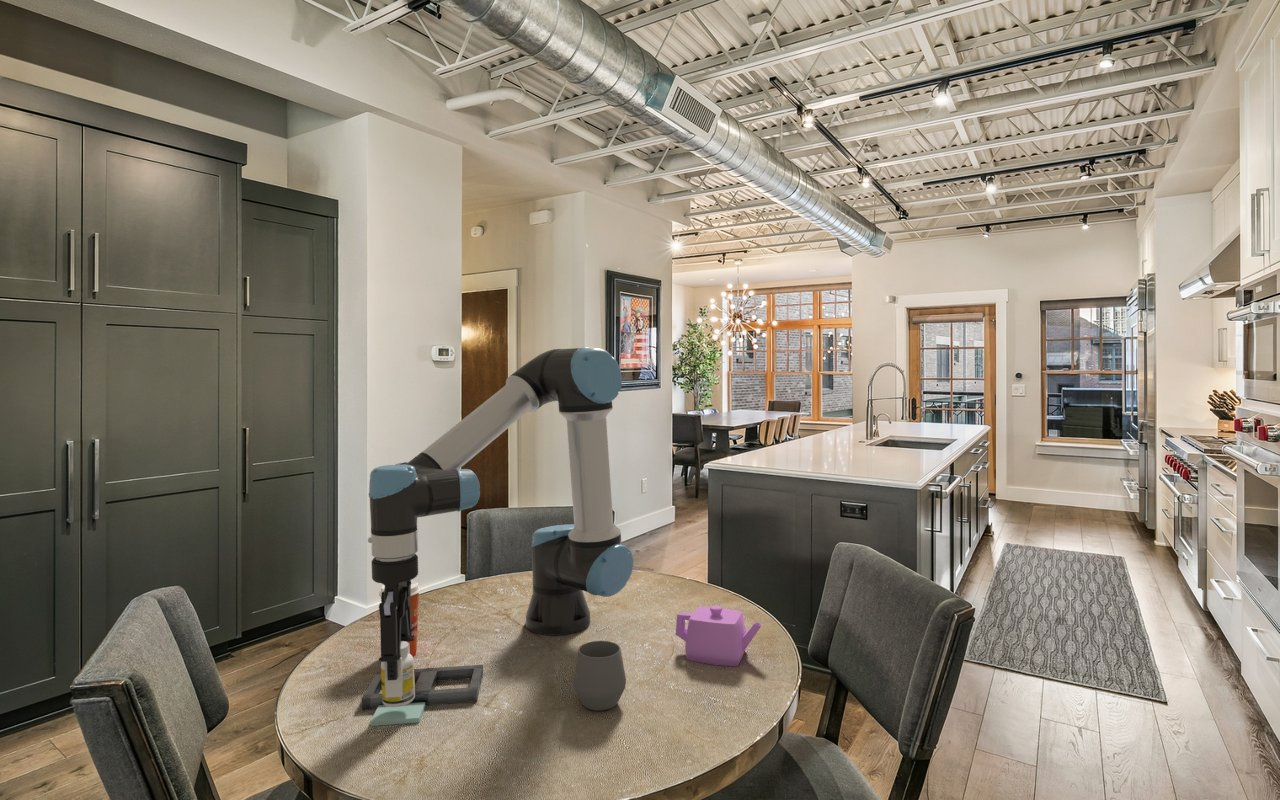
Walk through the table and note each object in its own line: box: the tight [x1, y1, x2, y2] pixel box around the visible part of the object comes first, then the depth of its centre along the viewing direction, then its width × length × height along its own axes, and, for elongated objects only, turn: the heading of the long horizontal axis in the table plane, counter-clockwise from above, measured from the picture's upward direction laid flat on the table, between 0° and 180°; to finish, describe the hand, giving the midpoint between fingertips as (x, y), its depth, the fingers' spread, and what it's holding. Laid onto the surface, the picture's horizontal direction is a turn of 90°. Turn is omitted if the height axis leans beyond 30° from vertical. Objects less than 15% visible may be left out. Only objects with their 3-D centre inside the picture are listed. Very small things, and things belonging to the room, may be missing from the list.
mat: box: [369, 702, 426, 727], centre depth 118 cm, size 8×6×1 cm
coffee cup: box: [378, 580, 421, 658], centre depth 143 cm, size 8×8×15 cm
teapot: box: [675, 605, 762, 667], centre depth 142 cm, size 18×10×10 cm, turn 71°
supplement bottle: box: [380, 641, 416, 707], centre depth 117 cm, size 5×5×10 cm
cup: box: [572, 640, 627, 712], centre depth 121 cm, size 10×9×10 cm
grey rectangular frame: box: [361, 664, 484, 711], centre depth 127 cm, size 20×11×2 cm, turn 98°
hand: (398, 687), depth 118 cm, fingers closed on supplement bottle, 5 cm apart
